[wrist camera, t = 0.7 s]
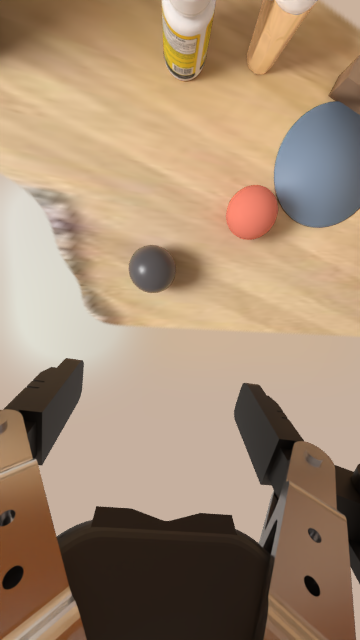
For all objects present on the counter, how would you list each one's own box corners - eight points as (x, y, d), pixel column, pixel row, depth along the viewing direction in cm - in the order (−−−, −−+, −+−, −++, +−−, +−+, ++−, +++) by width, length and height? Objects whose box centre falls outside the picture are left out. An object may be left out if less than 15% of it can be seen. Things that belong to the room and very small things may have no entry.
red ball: (212, 219, 30) (222, 211, 24) (244, 181, 29) (262, 164, 23) (242, 249, 31) (258, 249, 26) (274, 215, 30) (298, 207, 25)
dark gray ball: (124, 269, 32) (114, 274, 26) (151, 236, 30) (146, 232, 25) (156, 297, 33) (154, 306, 27) (183, 265, 32) (187, 269, 26)
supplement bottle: (191, 16, 24) (202, -103, 16) (213, 64, 25) (234, -23, 17) (154, 47, 25) (147, -52, 17) (178, 92, 26) (182, 21, 18)
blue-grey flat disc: (251, 173, 29) (252, 173, 28) (338, 71, 26) (340, 70, 26) (317, 249, 32) (318, 249, 32) (401, 165, 29) (402, 164, 29)
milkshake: (273, 12, 24) (341, -142, 15) (283, 72, 26) (351, -32, 16) (233, 30, 24) (274, -109, 15) (246, 89, 26) (290, -4, 17)
